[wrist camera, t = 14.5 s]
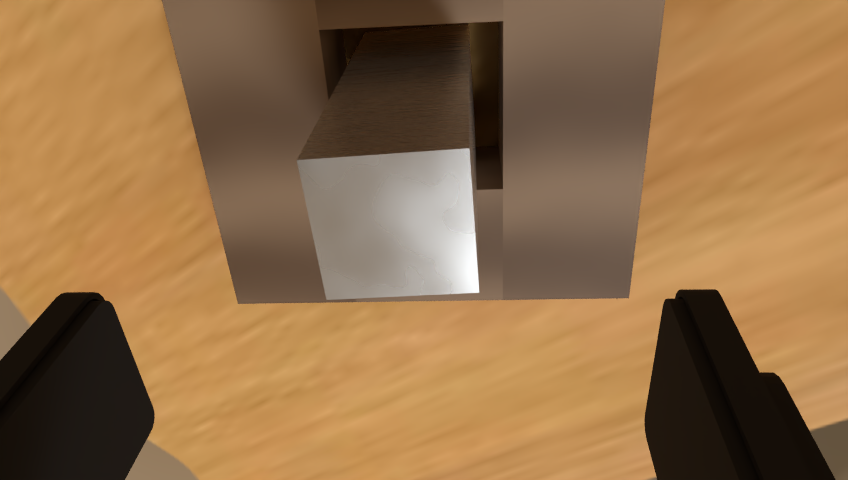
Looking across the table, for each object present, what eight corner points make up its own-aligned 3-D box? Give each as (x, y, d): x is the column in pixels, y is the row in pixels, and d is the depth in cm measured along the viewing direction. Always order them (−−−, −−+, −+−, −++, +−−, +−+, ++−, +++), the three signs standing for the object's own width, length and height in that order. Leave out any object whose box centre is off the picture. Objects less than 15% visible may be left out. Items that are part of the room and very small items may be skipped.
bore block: (178, -139, 23) (127, -136, 20) (651, -172, 22) (686, -174, 18) (263, 253, 31) (237, 303, 28) (610, 245, 30) (628, 298, 26)
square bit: (365, 32, 26) (296, 160, 15) (468, 23, 25) (469, 147, 15) (378, 129, 28) (326, 299, 17) (474, 122, 27) (479, 292, 17)
